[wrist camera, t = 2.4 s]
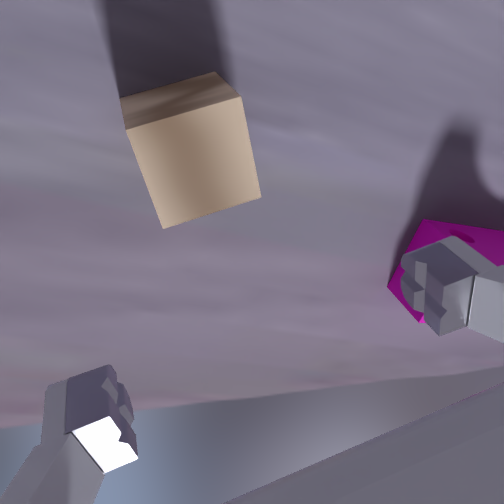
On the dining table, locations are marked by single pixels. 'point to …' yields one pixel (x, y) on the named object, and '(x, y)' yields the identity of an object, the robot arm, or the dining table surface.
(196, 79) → the beech block
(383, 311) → the dining table surface
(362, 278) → the dining table surface
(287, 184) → the dining table surface
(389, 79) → the dining table surface
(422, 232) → the toy block
